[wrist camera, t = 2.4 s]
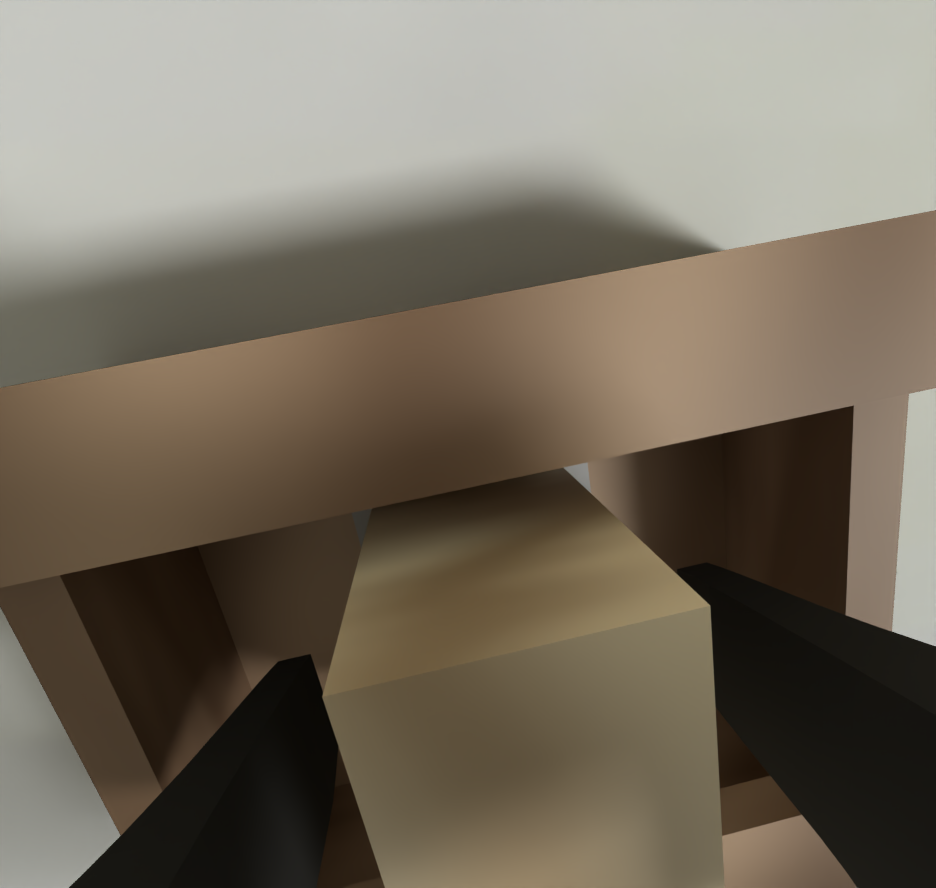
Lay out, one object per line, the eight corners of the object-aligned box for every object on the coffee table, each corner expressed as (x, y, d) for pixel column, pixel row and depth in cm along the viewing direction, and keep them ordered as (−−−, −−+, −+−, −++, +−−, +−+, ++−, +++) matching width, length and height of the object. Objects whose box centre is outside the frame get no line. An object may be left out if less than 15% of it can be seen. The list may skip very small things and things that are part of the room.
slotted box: (727, 259, 11) (984, 200, 6) (741, 682, 15) (914, 871, 10) (113, 376, 10) (-180, 421, 5) (277, 797, 14) (195, 1072, 9)
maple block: (561, 465, 9) (710, 605, 5) (593, 696, 11) (729, 981, 6) (372, 505, 9) (322, 696, 4) (431, 735, 11) (442, 1063, 6)
